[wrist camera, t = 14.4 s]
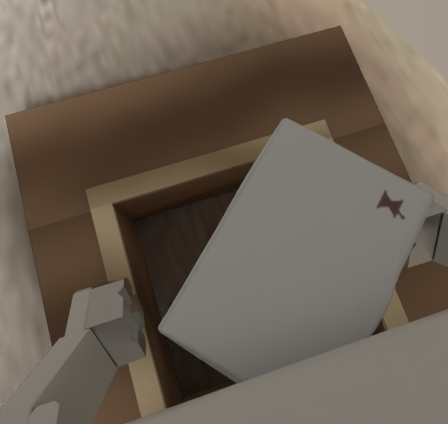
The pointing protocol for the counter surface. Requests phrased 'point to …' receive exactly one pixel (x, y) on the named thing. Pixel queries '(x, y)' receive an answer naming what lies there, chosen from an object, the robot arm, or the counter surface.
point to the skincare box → (297, 258)
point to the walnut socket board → (183, 180)
